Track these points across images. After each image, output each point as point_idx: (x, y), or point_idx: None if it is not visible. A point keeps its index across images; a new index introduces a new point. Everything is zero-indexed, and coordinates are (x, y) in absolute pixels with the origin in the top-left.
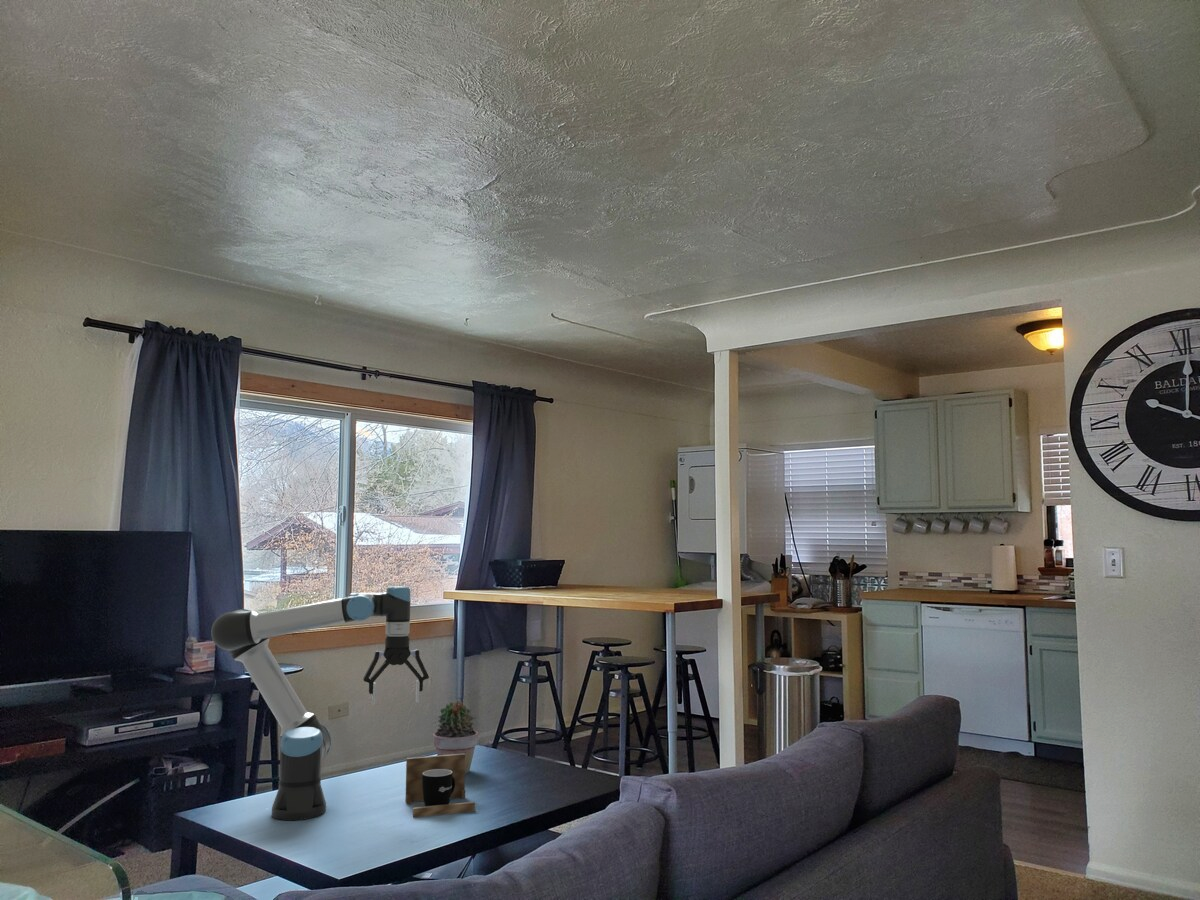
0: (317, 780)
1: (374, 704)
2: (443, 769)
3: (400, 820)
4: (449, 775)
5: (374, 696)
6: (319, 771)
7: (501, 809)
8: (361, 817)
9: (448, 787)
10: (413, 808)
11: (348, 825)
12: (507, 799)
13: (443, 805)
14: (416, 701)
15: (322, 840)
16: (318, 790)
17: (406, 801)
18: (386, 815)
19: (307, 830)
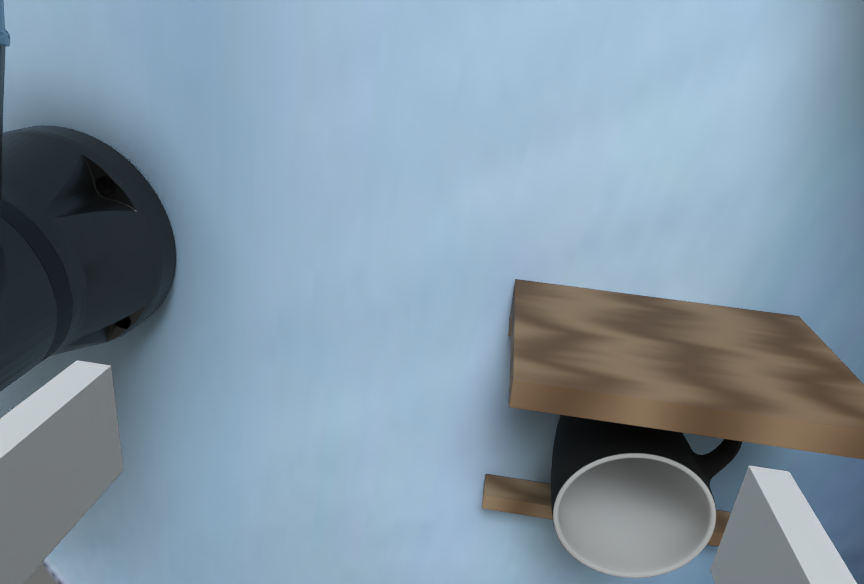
0: (52, 349)
1: (110, 474)
2: (692, 476)
3: (432, 492)
4: (672, 567)
5: (29, 557)
6: (30, 356)
7: None
8: (305, 399)
9: (656, 524)
10: (482, 504)
11: (255, 460)
12: None
13: None
14: (720, 565)
15: (175, 549)
16: (89, 328)
17: (510, 315)
18: (397, 419)
19: (125, 446)
